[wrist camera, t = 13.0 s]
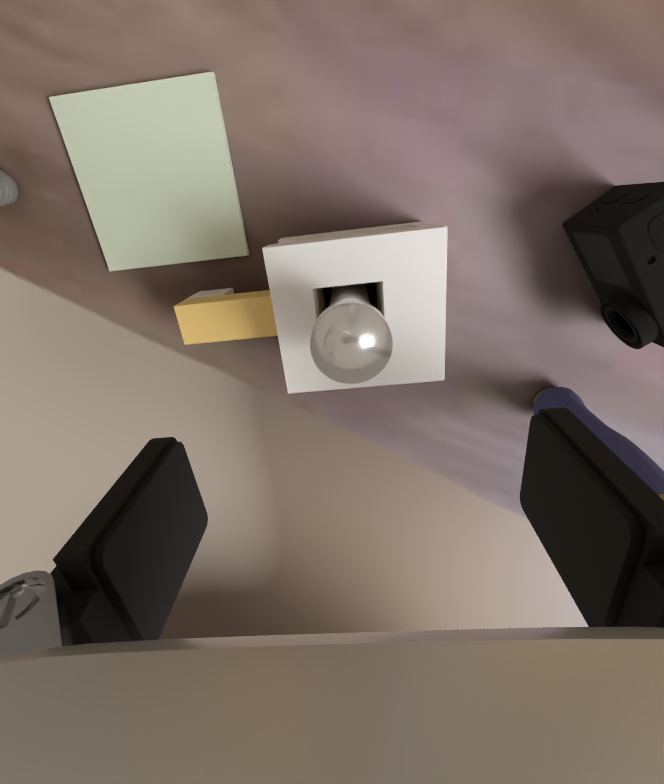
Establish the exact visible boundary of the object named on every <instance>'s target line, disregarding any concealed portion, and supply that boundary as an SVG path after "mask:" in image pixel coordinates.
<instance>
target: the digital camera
mask: <svg viewBox="0 0 664 784" xmlns="http://www.w3.org/2000/svg"><path fill="white" fill-rule="evenodd" d="M595 208H596V209H595ZM597 210H598V211H597ZM596 211H597V212H596ZM592 213H593V214H592ZM591 214H592V215H591ZM588 215H589V216H588ZM593 223H594V224H593ZM563 227H564V229H565V231H566V233H567V235H568V237H569V239H570V241H571V243H572V245H573V247H574V249H575V251H576V253H577V255H578V257H579V259H580V261H581V263H582V265H583V267H584V269H585V271H586V273H587V275H588V277H589V279H590V282H591V284H592V286H593V288H594V290H595V292H596V294H597V296H598V298H599V300H600V302H601V303H600V306H599V307H600V312H601V315H602V317H603V319H604V321H605V322H606V324H607V325H608V327H609V328H610V329H611V331H612V332H613V333H614V334H615V335H616V336H617V337H618V338H619V339H620V340H621V341H622V342H624V343H625V344H626V345H628V346H630V347H632V348H634V349H641V348H642V347H644V346H646V345H647V344H649V343H651V342H653V343H655V344H658V345H660V346H662V347H664V182H656V183H643V184H631V185H619V186H615V187H613V188H612V189H610V190H609V191H608V192H606V193H605V194H603V195H602V196H601V197H599V198H598V199H596V200H595V201H593V202H592V203H591V204H589V205H588V206H586V207H585V208H583V209H582V210H581V211H579V212H578V213H576V214H575V215H573V216H572V217H571V218H569V219H568V220H566V221H565V222H564V223H563Z"/></svg>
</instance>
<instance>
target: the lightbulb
mask: <svg viewBox="0 0 664 784" xmlns="http://www.w3.org/2000/svg"><path fill="white" fill-rule="evenodd" d="M17 197H18V188H17V185H16V183H15V181H14V180H13V178H12V177H11V176H10V175H9V174H8V173H7V172H5V171H3V170H1V169H0V206H2V205H10V204H13V203H14V202H15V201H16V200H17Z"/></svg>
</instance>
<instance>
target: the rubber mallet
mask: <svg viewBox="0 0 664 784" xmlns="http://www.w3.org/2000/svg"><path fill="white" fill-rule="evenodd" d="M559 407H566V408H567V409H569V410H570V411H571V412H572V413H573V414H574V415H575V416H576V417H577V418H578V419H579V420H580V421H581V422H582V423H583V424H584V425H586V426H587V427H588V428H589V429H590V430H591V431H592V432H593V433H594V434H595V435H596V436H597V437H598V438H599V439H600V440H601V441H602V442H603V443H604V444H605V445H606V446H607V447H608V448H610V449H611V450H612V451H613V452H614V453H615V454H616V455H617V456H618V457H619V458H620V459H621V460H622V461H623V462H624V463H625V464H626V465H627V466H628V467H629V468H630V469H631V470H632V471H634V472H635V473H636V474H637V475H638V476H639V477H640V478H641V479H642V480H643V481H644V482H645V483H646V484H647V485H648V486H649V487H650V488H651V489H652V490H653V491H654V492H655V493H657V494H658V495H659V496H660V497H661V498H662V499H663V500H664V471H663V470H662V469H661V468H660V467H659V466H658V465H657V464H656V463H655V462H654V461H653V460H652V459H651V458H650V457H649V456H648V455H646V454H645V453H644V452H643V451H642V450H641V449H640V448H639V447H637V446H636V445H635V444H634V443H632V442H631V441H630V440H628V439H627V438H626V437H624V436H623V435H621V434H619V433H618V432H616V431H614V430H613V429H611V428H609V427H608V426H607V425H605V424H604V423H603V422H602V421H601V420H599V419H598V418H597V417H596V416H595V415H594V414H593V413H591V412H590V411H589V410H588V409H587V408H586V407H585V405H584V403H583V402H582V400H581V398H580V397H579V396H578V395H577V394H575V393H574V392H573V391H572V390H571V389H568V388H564V387H556V388H552V387H551V388H547V389H544V390H542V391H541V392H540V393H538V394H537V396H536V397H535V399H534V415H537V414H538V412H539V410H540V409H546V408H559Z"/></svg>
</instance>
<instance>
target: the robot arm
mask: <svg viewBox="0 0 664 784" xmlns="http://www.w3.org/2000/svg"><path fill="white" fill-rule="evenodd" d="M520 502H521V506H522V508H523V511H524V512H525V514H526V516H527V518H528V519H529V521H530V523H531V525H532V527H533V528H534V530H535V532H536V534H537V535H538V537H539V539H540V541H541V543H542V544H543V546H544V548H545V549H546V551H547V553H548V555H549V557H550V558H551V560H552V562H553V564H554V565H555V567H556V569H557V571H558V573H559V574H560V576H561V578H562V580H563V582H564V583H565V585H566V587H567V589H568V591H569V592H570V594H571V596H572V598H573V599H574V601H575V603H576V605H577V606H578V608H579V610H580V612H581V613H582V615H583V617H584V619H585V620H586V623H587V624H588V626H589V627H553V628H552V627H549V628H509V629H472V630H433V631H399V632H369V633H368V632H366V633H336V634H335V633H334V634H305V635H304V634H303V635H273V636H247V637H219V638H193V639H168V640H167V639H166V640H158V639H159V637H160V635H161V632H162V630H163V628H164V625H165V623H166V621H167V618H168V616H169V614H170V611H171V609H172V607H173V604H174V602H175V599H176V597H177V595H178V593H179V590H180V588H181V586H182V583H183V581H184V578H185V576H186V574H187V571H188V569H189V567H190V564H191V562H192V560H193V557H194V555H195V553H196V550H197V548H198V546H199V543H200V541H201V539H202V536H203V534H204V532H205V529H206V526H207V522H208V517H207V512H206V509H205V506H204V503H203V500H202V497H201V494H200V491H199V489H198V486H197V483H196V480H195V477H194V474H193V471H192V468H191V466H190V462H189V459H188V457H187V454H186V451H185V448H184V445H183V444H182V443H181V442H177V440H176V439H175V438H173V437H167V438H154V439H151V440H150V441H149V442H148V443H147V444H146V445H145V447H144V448H143V449H142V450H141V452H140V453H139V454H138V455H137V457H136V458H135V459H134V460H133V461H132V463H131V464H130V465H129V466H128V468H127V469H126V470H125V472H124V473H123V474H122V475H121V476H120V478H119V479H118V480H117V481H116V482H115V484H114V485H113V486H112V487H111V489H110V490H109V491H108V492H107V494H106V495H105V496H104V497H103V498H102V500H101V501H100V502H99V503H98V505H97V506H96V507H95V508H94V509H93V511H92V512H91V513H90V514H89V516H88V517H87V518H86V519H85V520H84V522H83V523H82V524H81V526H80V527H79V528H78V529H77V531H76V532H75V533H74V534H73V535H72V537H71V538H70V539H69V540H68V541H67V543H66V544H65V545H64V546H63V548H62V549H61V550H60V551H59V552H58V554H57V555H56V556H55V557H54V559H53V561H54V562H55V564H56V565H57V566H56V567H55V568H54V570H53V571H52V572H51V573H50V574H49V573H48V572H45V571H32V572H27V573H23V574H21V575H19V576H16V577H14V578H11V579H10V580H8V581H6V582H4V583H3V584H1V585H0V784H664V500H663V499H662V498H661V497H660V496H659V495H658V494H657V493H655V492H654V491H653V490H652V489H651V488H650V487H649V486H648V485H647V484H646V483H645V482H644V481H643V480H642V479H641V478H640V477H639V476H638V475H637V474H636V473H635V472H634V471H632V470H631V469H630V468H629V467H628V466H627V465H626V464H625V463H624V462H623V461H622V460H621V459H620V458H619V457H618V456H617V455H616V454H615V453H614V452H613V451H612V450H611V449H610V448H608V447H607V446H606V445H605V444H604V443H603V442H602V441H601V440H600V439H599V438H598V437H597V436H596V435H595V434H594V433H593V432H592V431H591V430H590V429H589V428H588V427H587V426H586V425H584V424H583V423H582V422H581V421H580V420H579V419H578V418H577V417H576V416H575V415H574V414H573V413H572V412H571V411H570V410H569V409H567V408H566V407H559V408H546V409H540V410H539V412H538V414H537V415H533V416H532V417H531V421H530V427H529V434H528V441H527V449H526V456H525V463H524V470H523V477H522V484H521V491H520Z"/></svg>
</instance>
